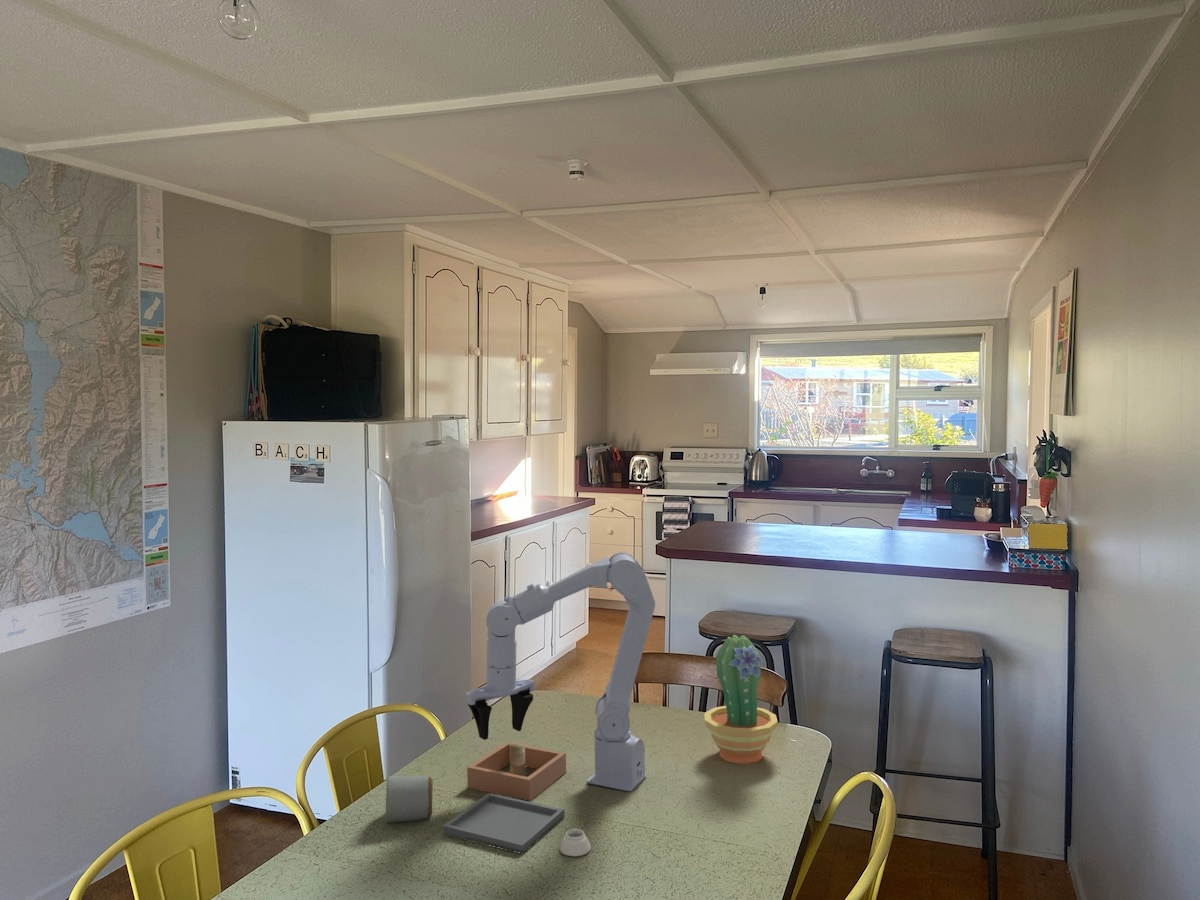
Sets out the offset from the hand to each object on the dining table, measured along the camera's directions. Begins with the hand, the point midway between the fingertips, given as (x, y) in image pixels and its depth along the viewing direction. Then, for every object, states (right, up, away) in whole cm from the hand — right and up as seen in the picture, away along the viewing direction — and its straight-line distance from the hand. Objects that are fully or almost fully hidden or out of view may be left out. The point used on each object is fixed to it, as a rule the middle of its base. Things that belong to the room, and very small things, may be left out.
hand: (500, 733), depth 165 cm
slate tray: (+3, -10, -17) cm, 20 cm away
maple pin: (+3, -10, +2) cm, 10 cm away
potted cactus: (+49, -9, +12) cm, 51 cm away
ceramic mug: (-15, -11, -12) cm, 22 cm away
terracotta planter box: (+3, -10, +2) cm, 10 cm away
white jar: (+15, -11, -26) cm, 32 cm away
